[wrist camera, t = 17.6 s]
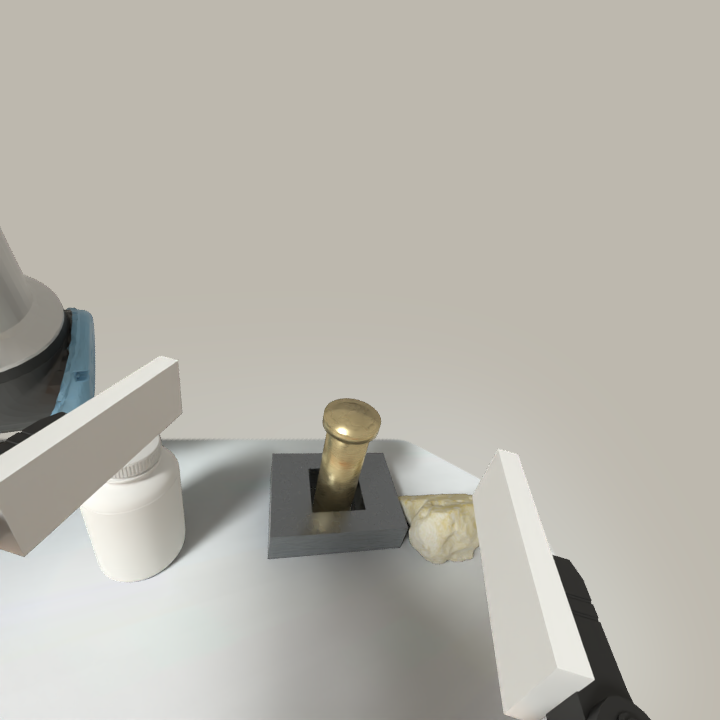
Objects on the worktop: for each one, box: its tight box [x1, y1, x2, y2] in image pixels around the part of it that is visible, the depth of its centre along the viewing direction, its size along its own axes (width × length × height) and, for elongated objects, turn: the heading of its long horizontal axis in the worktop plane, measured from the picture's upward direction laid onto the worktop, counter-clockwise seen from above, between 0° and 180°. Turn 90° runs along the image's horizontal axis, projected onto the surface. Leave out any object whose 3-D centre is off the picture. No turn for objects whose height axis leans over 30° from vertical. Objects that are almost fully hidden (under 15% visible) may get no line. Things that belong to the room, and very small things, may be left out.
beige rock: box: [398, 494, 479, 564], centre depth 42 cm, size 15×7×15 cm
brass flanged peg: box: [312, 398, 381, 513], centre depth 41 cm, size 6×6×16 cm
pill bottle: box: [80, 435, 186, 583], centre depth 33 cm, size 8×8×15 cm
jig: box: [268, 453, 408, 559], centre depth 44 cm, size 16×12×4 cm
